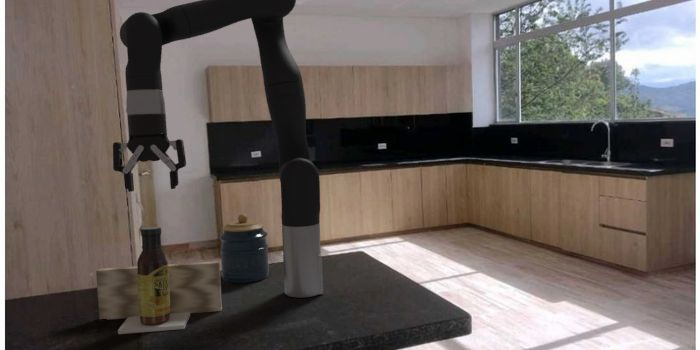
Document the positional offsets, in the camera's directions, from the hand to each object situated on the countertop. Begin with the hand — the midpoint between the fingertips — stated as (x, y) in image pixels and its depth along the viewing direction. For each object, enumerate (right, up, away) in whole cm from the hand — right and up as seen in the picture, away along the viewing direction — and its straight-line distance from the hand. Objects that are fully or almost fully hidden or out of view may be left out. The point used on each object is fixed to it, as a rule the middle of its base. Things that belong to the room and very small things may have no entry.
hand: (152, 189), depth 113 cm
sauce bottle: (+1, -28, 0) cm, 28 cm away
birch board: (0, -28, +6) cm, 29 cm away
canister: (+13, -25, +35) cm, 45 cm away
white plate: (+1, -28, 0) cm, 28 cm away
